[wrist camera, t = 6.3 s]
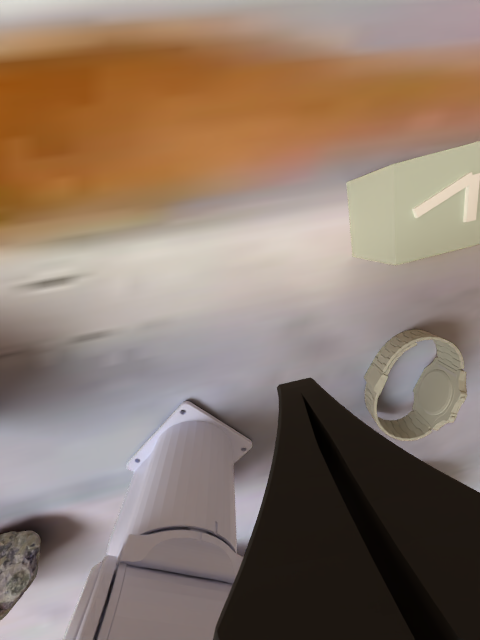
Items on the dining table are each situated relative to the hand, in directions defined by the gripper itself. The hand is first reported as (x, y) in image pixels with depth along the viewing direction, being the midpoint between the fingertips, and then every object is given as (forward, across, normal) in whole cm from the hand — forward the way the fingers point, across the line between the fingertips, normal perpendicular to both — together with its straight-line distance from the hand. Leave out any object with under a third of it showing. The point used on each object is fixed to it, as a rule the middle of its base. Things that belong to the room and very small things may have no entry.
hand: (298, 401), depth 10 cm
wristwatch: (+11, -10, +9) cm, 17 cm away
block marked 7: (+11, -10, -5) cm, 15 cm away
